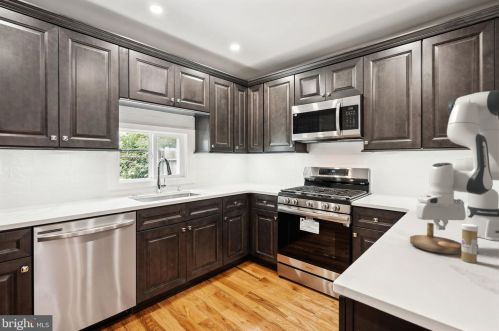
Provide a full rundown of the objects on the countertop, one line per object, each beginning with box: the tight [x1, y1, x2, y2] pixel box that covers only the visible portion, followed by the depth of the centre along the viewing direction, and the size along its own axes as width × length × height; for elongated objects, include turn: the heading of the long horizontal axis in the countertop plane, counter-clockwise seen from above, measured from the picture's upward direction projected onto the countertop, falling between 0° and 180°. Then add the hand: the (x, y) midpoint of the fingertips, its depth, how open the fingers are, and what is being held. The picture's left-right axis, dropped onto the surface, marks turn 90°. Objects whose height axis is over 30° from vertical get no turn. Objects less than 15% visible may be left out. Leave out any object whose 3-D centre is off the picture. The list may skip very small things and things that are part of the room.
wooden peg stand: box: [409, 222, 462, 255], centre depth 105 cm, size 18×18×8 cm
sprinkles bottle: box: [460, 223, 478, 264], centre depth 91 cm, size 5×5×14 cm
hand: (440, 229), depth 112 cm, fingers closed
